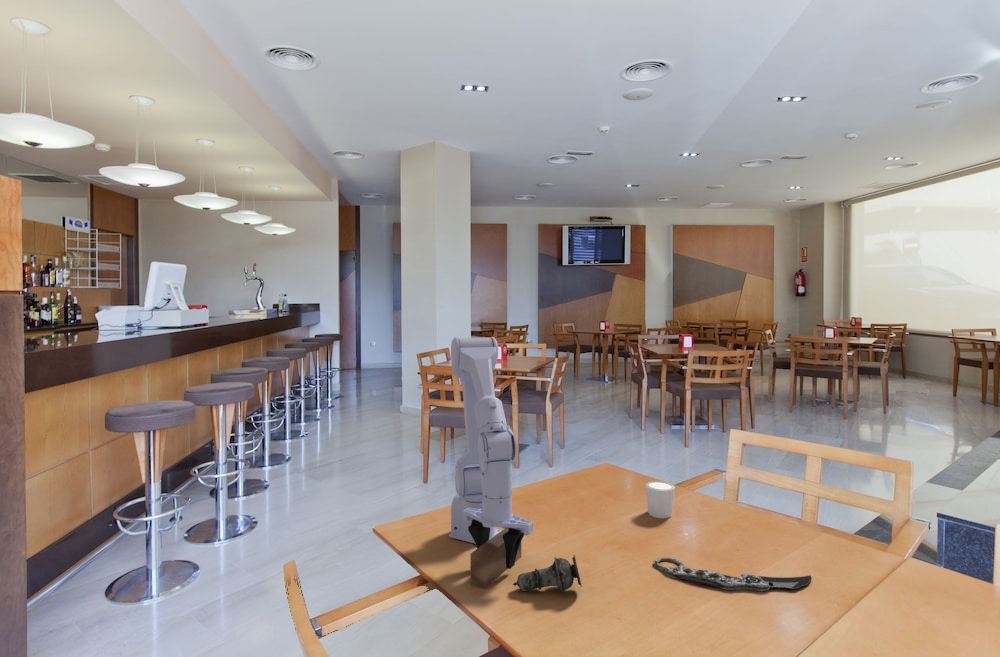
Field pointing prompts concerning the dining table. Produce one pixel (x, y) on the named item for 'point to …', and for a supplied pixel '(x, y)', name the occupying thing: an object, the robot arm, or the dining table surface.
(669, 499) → the white cylinder
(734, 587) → the knife
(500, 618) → the dining table surface
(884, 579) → the dining table surface
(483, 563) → the dark wooden brick
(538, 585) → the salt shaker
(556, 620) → the dining table surface
